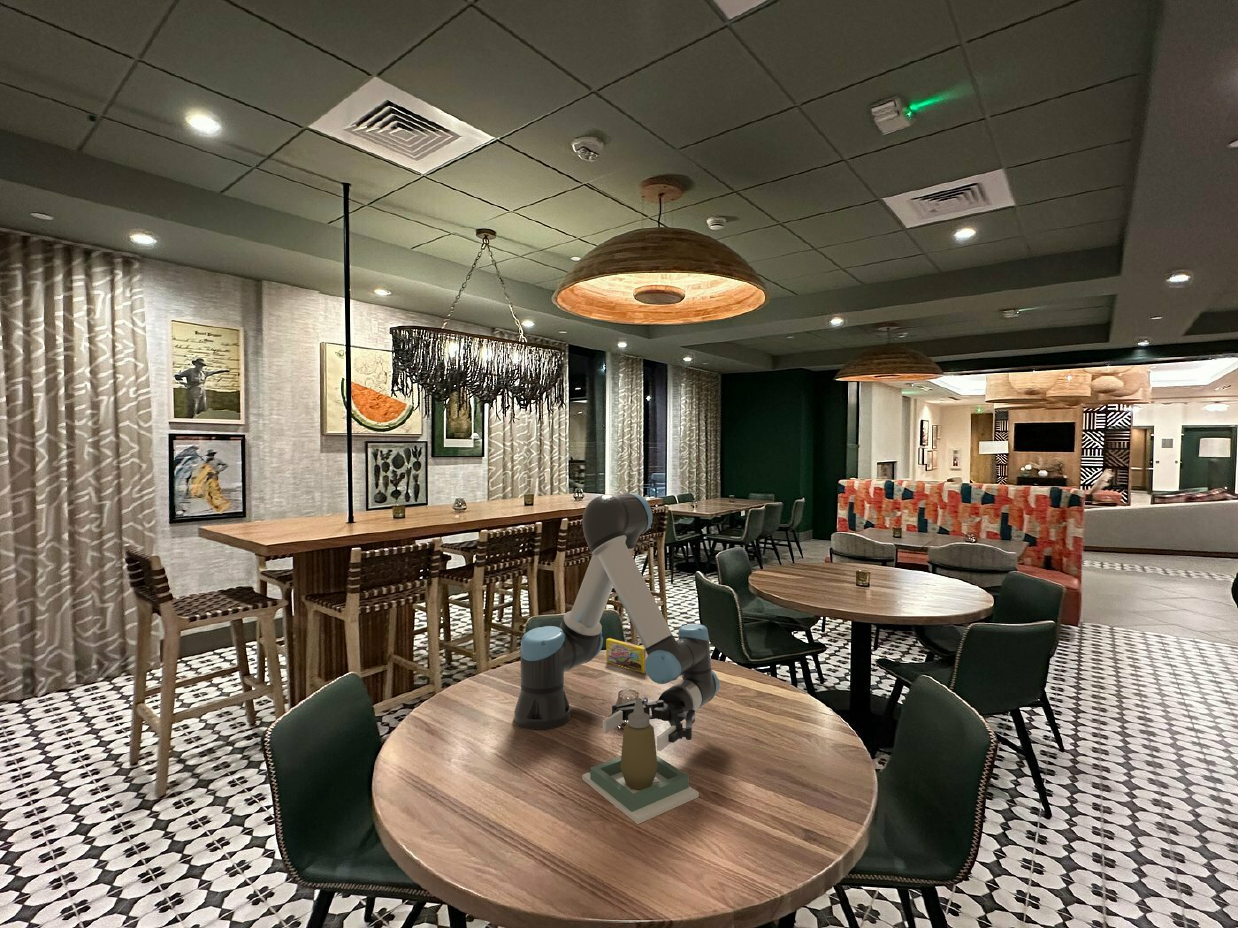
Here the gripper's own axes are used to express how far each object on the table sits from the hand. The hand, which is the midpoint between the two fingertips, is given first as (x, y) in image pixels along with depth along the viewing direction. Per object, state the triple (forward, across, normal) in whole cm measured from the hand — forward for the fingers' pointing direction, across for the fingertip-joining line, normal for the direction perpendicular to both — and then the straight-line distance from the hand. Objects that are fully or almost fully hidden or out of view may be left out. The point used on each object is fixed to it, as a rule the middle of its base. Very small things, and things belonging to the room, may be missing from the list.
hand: (630, 735), depth 126 cm
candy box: (-64, +44, -13) cm, 79 cm away
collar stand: (-3, 0, -12) cm, 13 cm away
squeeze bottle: (-3, 0, -12) cm, 12 cm away
